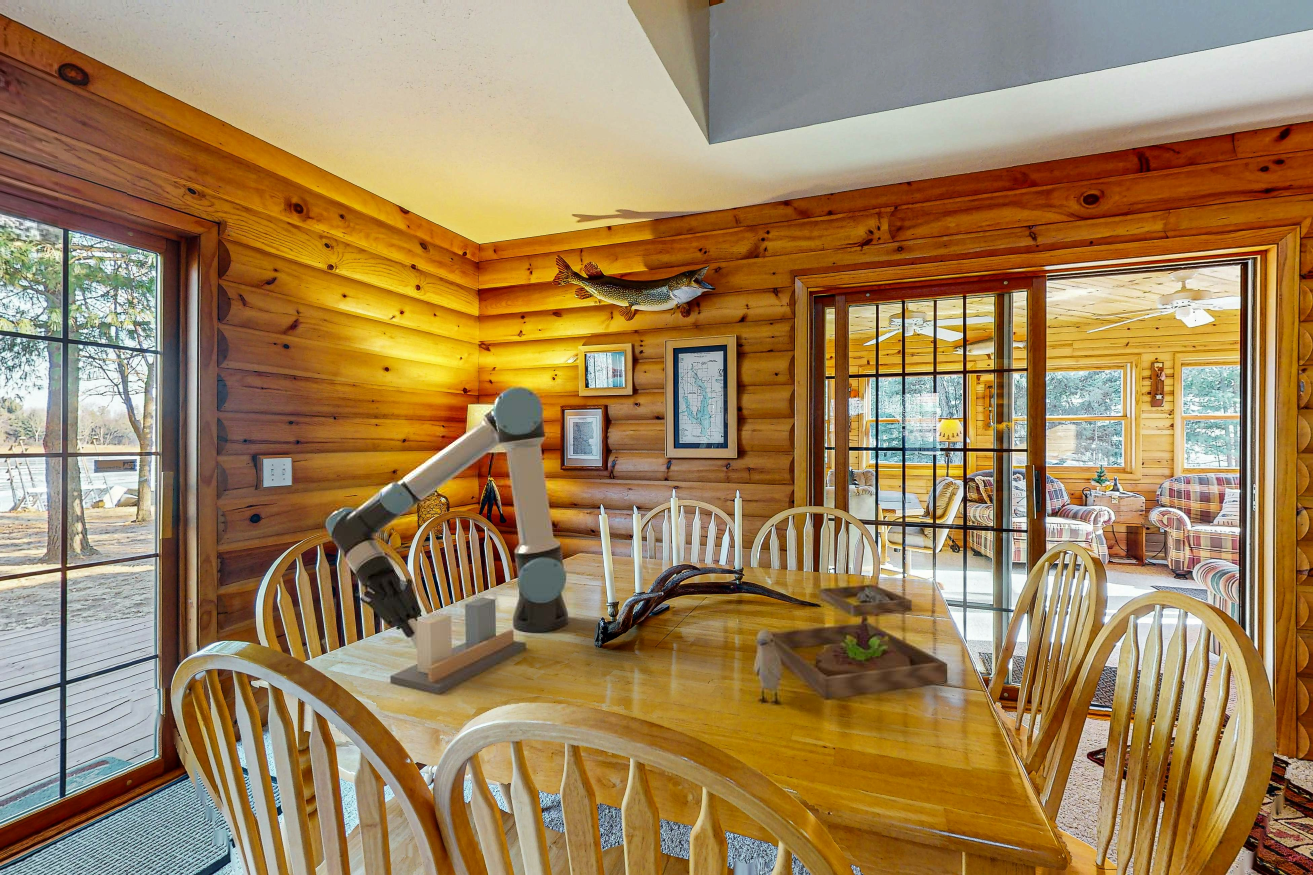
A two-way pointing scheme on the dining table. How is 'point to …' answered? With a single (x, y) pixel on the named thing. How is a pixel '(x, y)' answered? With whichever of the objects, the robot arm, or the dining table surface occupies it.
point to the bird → (767, 664)
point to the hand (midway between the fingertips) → (423, 645)
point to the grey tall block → (480, 621)
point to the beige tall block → (433, 640)
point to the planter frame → (917, 675)
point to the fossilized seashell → (871, 596)
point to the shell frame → (891, 606)
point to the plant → (859, 655)
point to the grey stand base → (460, 664)
